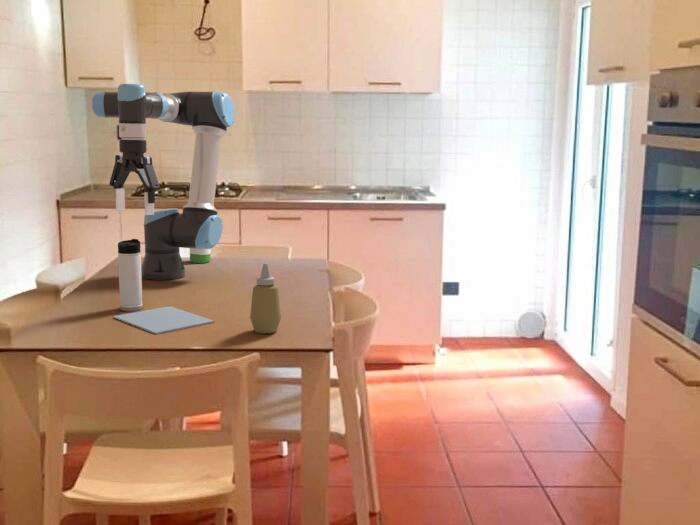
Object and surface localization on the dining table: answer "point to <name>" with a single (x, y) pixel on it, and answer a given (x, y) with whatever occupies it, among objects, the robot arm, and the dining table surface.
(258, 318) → the squeeze bottle
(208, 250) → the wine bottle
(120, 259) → the travel mug
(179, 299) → the dining table surface
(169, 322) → the mat
